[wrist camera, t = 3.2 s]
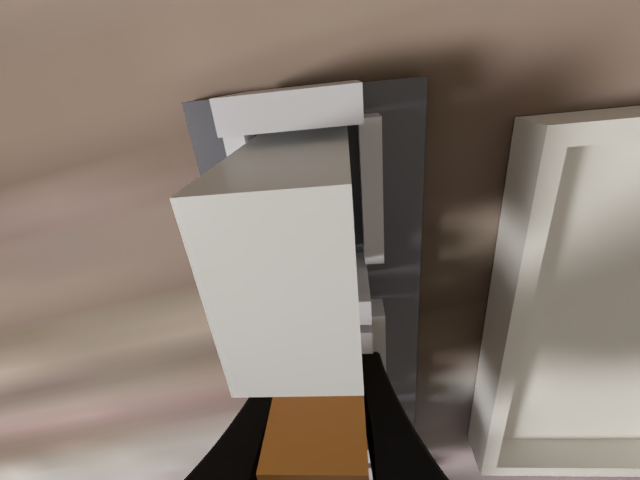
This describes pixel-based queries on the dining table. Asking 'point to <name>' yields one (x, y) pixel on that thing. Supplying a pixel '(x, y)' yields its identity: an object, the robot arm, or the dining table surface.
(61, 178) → the dining table surface
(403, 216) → the fuse block
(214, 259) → the block
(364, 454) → the block
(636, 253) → the tray
